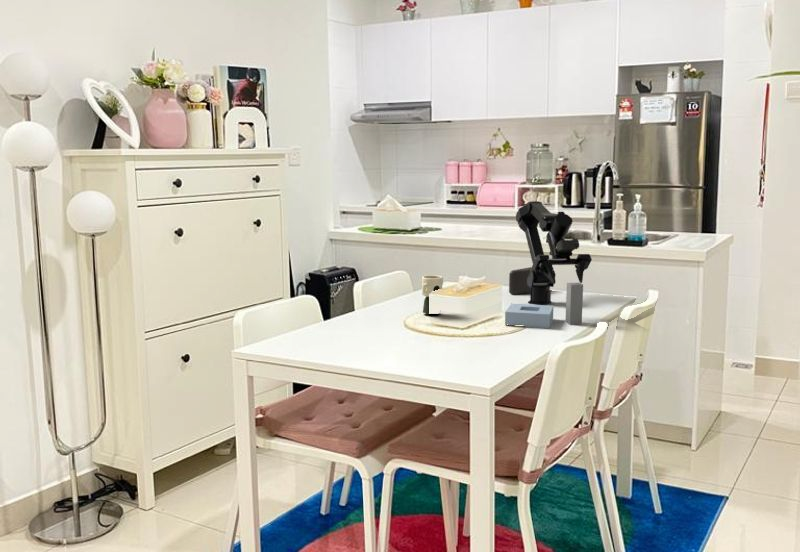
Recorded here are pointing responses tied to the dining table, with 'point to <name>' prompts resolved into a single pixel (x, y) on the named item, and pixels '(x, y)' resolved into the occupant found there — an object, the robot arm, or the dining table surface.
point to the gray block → (574, 303)
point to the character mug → (430, 288)
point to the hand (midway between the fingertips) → (568, 282)
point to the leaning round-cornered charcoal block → (519, 281)
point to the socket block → (529, 315)
